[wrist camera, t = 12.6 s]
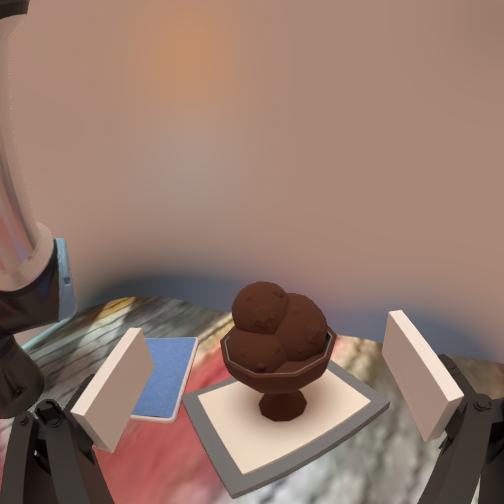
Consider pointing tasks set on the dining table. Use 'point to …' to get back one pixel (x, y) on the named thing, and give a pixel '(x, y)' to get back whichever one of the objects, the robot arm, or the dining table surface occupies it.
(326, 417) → the sheet
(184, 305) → the dining table surface
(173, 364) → the tablet computer
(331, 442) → the mat
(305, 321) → the ice cream bowl
